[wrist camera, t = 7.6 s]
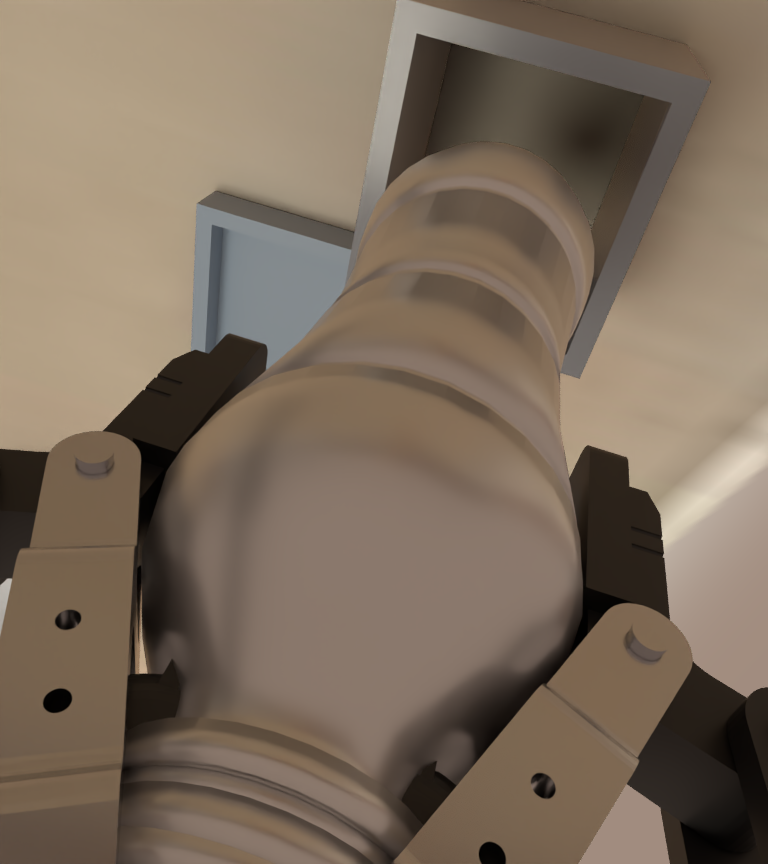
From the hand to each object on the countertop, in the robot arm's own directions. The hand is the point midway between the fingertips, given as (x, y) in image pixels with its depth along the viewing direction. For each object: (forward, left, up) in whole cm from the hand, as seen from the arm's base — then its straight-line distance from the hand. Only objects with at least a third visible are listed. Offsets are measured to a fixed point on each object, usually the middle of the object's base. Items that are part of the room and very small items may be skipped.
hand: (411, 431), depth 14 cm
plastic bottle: (0, 0, -11) cm, 11 cm away
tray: (+12, -8, -22) cm, 26 cm away
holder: (0, 0, -22) cm, 22 cm away
